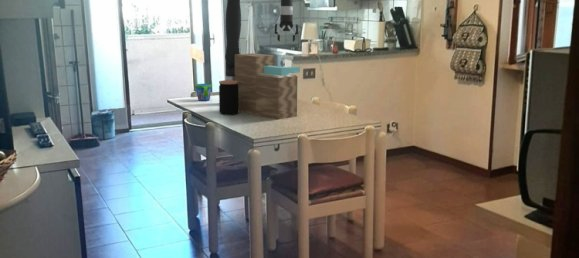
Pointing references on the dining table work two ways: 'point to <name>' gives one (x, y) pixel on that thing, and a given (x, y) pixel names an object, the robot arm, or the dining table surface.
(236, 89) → the coffee jar
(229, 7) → the robot arm
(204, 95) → the snack cup
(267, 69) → the t bar
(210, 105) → the dining table surface
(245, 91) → the step shelf
